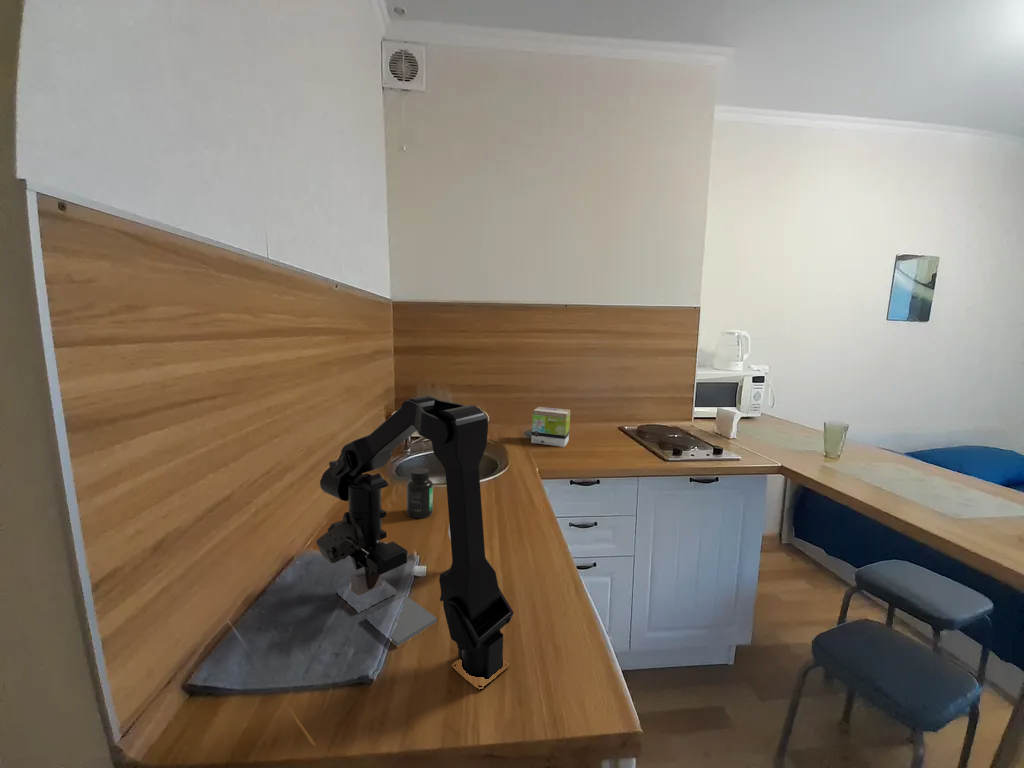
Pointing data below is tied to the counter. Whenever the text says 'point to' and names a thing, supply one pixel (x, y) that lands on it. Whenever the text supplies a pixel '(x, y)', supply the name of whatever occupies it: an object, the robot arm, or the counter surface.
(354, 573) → the stub
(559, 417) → the tea box
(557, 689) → the counter surface
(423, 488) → the supplement bottle
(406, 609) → the panel
